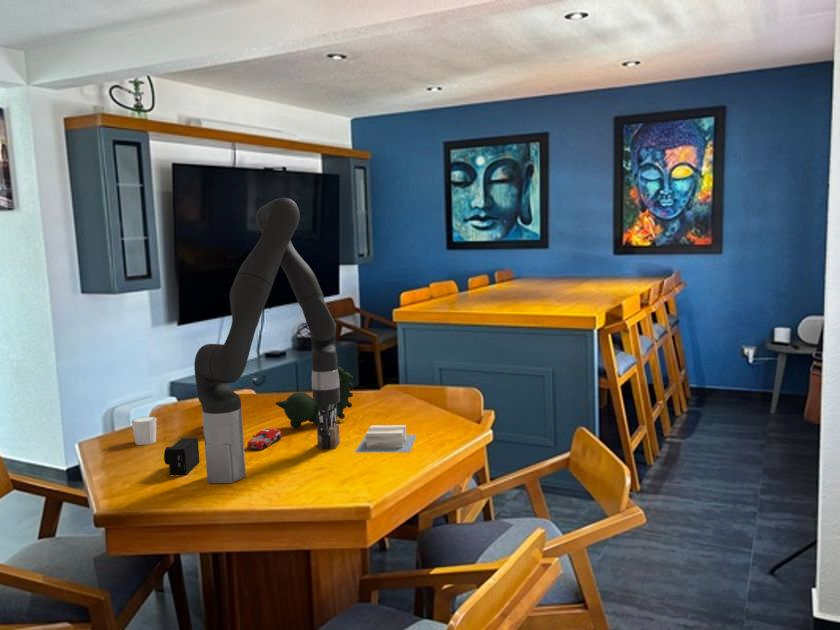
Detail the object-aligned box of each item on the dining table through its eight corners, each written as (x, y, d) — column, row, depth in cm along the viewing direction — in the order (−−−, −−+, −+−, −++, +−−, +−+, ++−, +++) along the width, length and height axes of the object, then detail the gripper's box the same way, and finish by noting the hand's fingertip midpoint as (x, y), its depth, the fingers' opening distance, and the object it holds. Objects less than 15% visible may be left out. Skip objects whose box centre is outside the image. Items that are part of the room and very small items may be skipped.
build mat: (410, 454, 185) (410, 452, 185) (354, 454, 186) (354, 452, 186) (416, 436, 200) (416, 434, 200) (365, 437, 202) (365, 435, 202)
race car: (260, 452, 192) (260, 438, 192) (244, 451, 194) (243, 437, 194) (284, 438, 205) (284, 425, 204) (268, 437, 206) (267, 424, 206)
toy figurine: (343, 420, 228) (269, 426, 215) (345, 363, 227) (271, 366, 214) (355, 427, 220) (279, 433, 207) (357, 367, 219) (281, 370, 206)
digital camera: (179, 463, 185) (177, 437, 184) (199, 462, 185) (197, 436, 184) (165, 476, 174) (162, 449, 174) (186, 475, 174) (184, 448, 174)
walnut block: (335, 450, 190) (334, 429, 190) (318, 450, 191) (316, 429, 190) (339, 445, 195) (338, 424, 195) (322, 445, 196) (321, 424, 195)
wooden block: (402, 447, 189) (402, 433, 188) (366, 447, 190) (365, 433, 189) (406, 438, 197) (405, 425, 196) (371, 439, 198) (371, 425, 197)
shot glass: (162, 441, 206) (160, 418, 205) (139, 447, 201) (137, 423, 200) (151, 437, 210) (149, 415, 210) (129, 442, 206) (127, 419, 205)
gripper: (333, 391, 184) (336, 453, 186) (344, 380, 198) (347, 438, 200) (305, 391, 185) (309, 453, 187) (319, 380, 199) (322, 438, 201)
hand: (329, 445), depth 193 cm, fingers closed on walnut block, 5 cm apart
